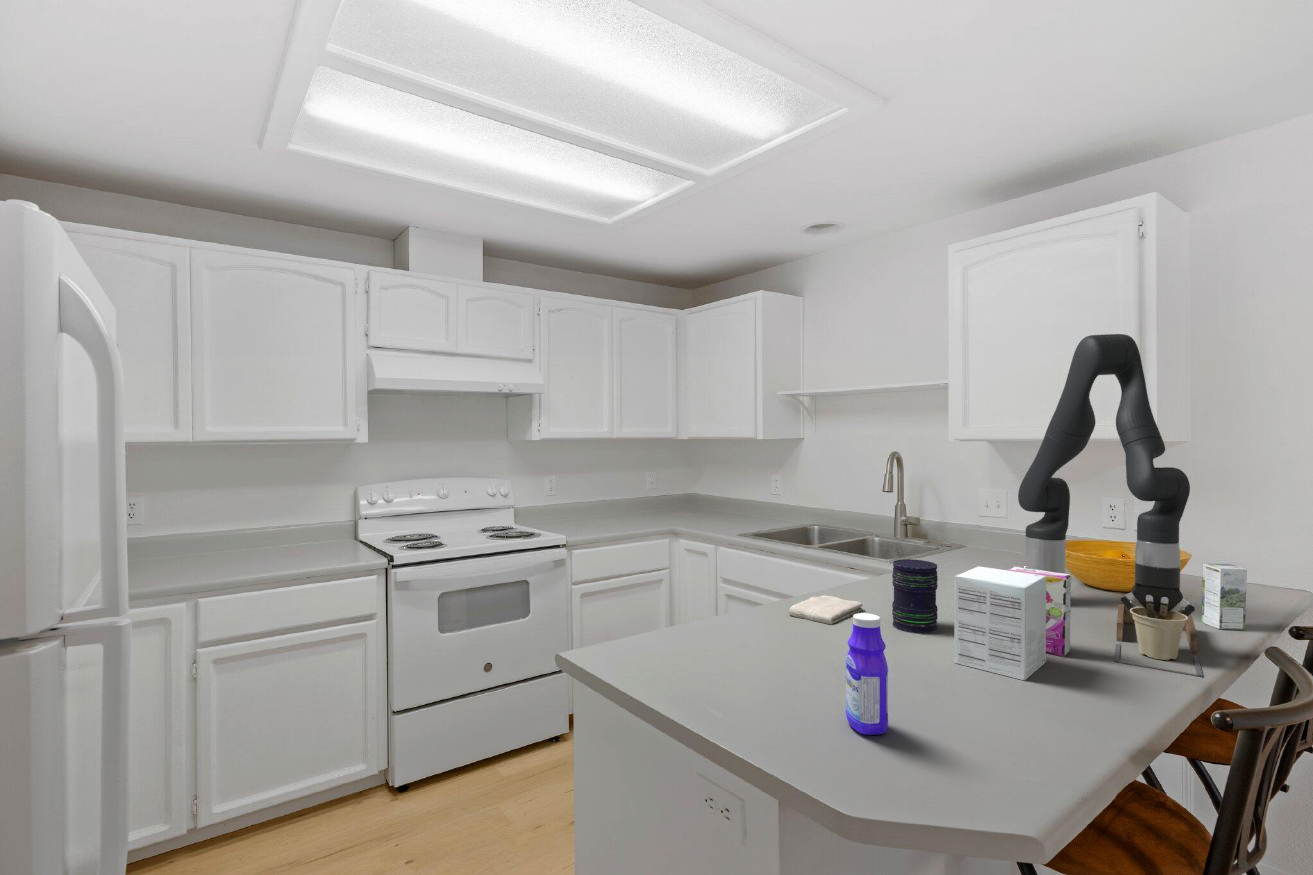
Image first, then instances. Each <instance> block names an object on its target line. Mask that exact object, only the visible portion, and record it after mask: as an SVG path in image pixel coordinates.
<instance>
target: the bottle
mask: <svg viewBox="0 0 1313 875" xmlns="http://www.w3.org/2000/svg"><path fill="white" fill-rule="evenodd" d="M847 645H848V647H849V650H848V651H847V654H846V657H845V665H846V667H845V669H846V670H845V673H846V674H845V678H846V679H845V680H846V681H845V716H846V719H847V722H848V724H849V726H850V727H851V728H852V729H853V730H854V731H856V732H857V733H859V734H861V735H869V736H870V735H871V736H873V735H874V736H875V735H876V736H877V735H882V734H884V733H886V732H887V730H888V727H889V697H888V696H889V690H888V689H889V687H888V685H889V684H888V682H889V681H888V680H889V679H888V675H889V674H888V673H889V668H888V667H889V666H888V661H887V659H886V655H885V653H884V652H885V650H886V646H887V645H886V642H885V641H884V640H883V638H882V633H881V617H880V616H878V615H876V614H873V613H867V612H858V613H855V614H853V615H852V631H851V634H850V637H849V639H848V640H847Z"/></svg>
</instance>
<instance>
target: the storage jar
mask: <svg viewBox="0 0 1313 875" xmlns="http://www.w3.org/2000/svg"><path fill="white" fill-rule="evenodd" d="M892 566H893V567H892V573H891V574H892V576H891V577H892V582H891V583H892V587H893V601H892V604H891V608H892V609H891V615H892V627H893V628H895V629H896V630H898V631H901V632H905V633H910V634H916V635H917V634H918V635H919V634H920V635H921V634H922V635H923V634H924V635H927V634H932V633H933V634H934V633H936V632H937V630H938V627H937V623H938V621H937V620H938V610H939V608H938V605H937V590H938V586H939V585H938V580H939V579H938V571H937V569H938V564H937V563H935V562H932V561H928V560H921V559H905V558H904V559H896V560H893V561H892Z"/></svg>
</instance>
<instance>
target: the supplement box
mask: <svg viewBox="0 0 1313 875" xmlns="http://www.w3.org/2000/svg"><path fill="white" fill-rule="evenodd" d="M1007 570H1008V569H1006V570H1005V569H999V568H994V567H993V568H992V567H986V566H980V565H978V566H976V567H974V568H972V569H969V570H967V571H964V572H961V573H959V574H956V575H954V631H953V632H954V633H953V635H954V637H953V638H954V643H953V644H954V645H953V646H954V647H953V648H954V655H953V661H954V663H955V664H957V665H962V666H965V667H971V668H974V669H978V670H981V671H986V672H990V673H993V674H997V675H1001V676H1005V677H1008V678H1013V679H1015V680H1016V679H1017V680H1021V681H1026V680H1028V679H1029V677H1031V676H1032V675H1033V674H1034V673H1035V672H1037V671H1038V670H1039V669H1040V668H1041V667H1042V666H1044V665H1045V663H1046V661H1047V660H1046V659H1047V658H1046V656H1047V655H1046V654H1047V653H1046V576H1042V575H1036V574H1029V573H1022V572H1015V571H1007Z"/></svg>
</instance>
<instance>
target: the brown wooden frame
mask: <svg viewBox="0 0 1313 875" xmlns="http://www.w3.org/2000/svg"><path fill="white" fill-rule="evenodd" d="M1135 606H1136V607H1139V606H1137V605H1135ZM1174 611H1175V612H1177V611H1176V610H1174ZM1192 614H1193V613H1191V614H1190V615H1189V616H1188V620H1187V621H1186V622H1185V626H1184V627H1183V630H1182V632H1185V634H1186V637H1187V638H1186V639H1187V643H1188V648H1189V652H1190V653H1192V654H1197V653H1198V633H1197V629H1196V626H1195V622H1194V619H1193V615H1192ZM1116 616H1117V617H1116V618H1117V619H1116V642H1121V643H1122V642H1123V636H1124V624H1125V623H1126V624H1134V625H1135V621H1134V619H1133V616H1132V613H1131V612H1130V611H1129V610H1128V609H1127V608H1126V606H1125V605H1124V604H1123V603H1118V609H1117V615H1116Z"/></svg>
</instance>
